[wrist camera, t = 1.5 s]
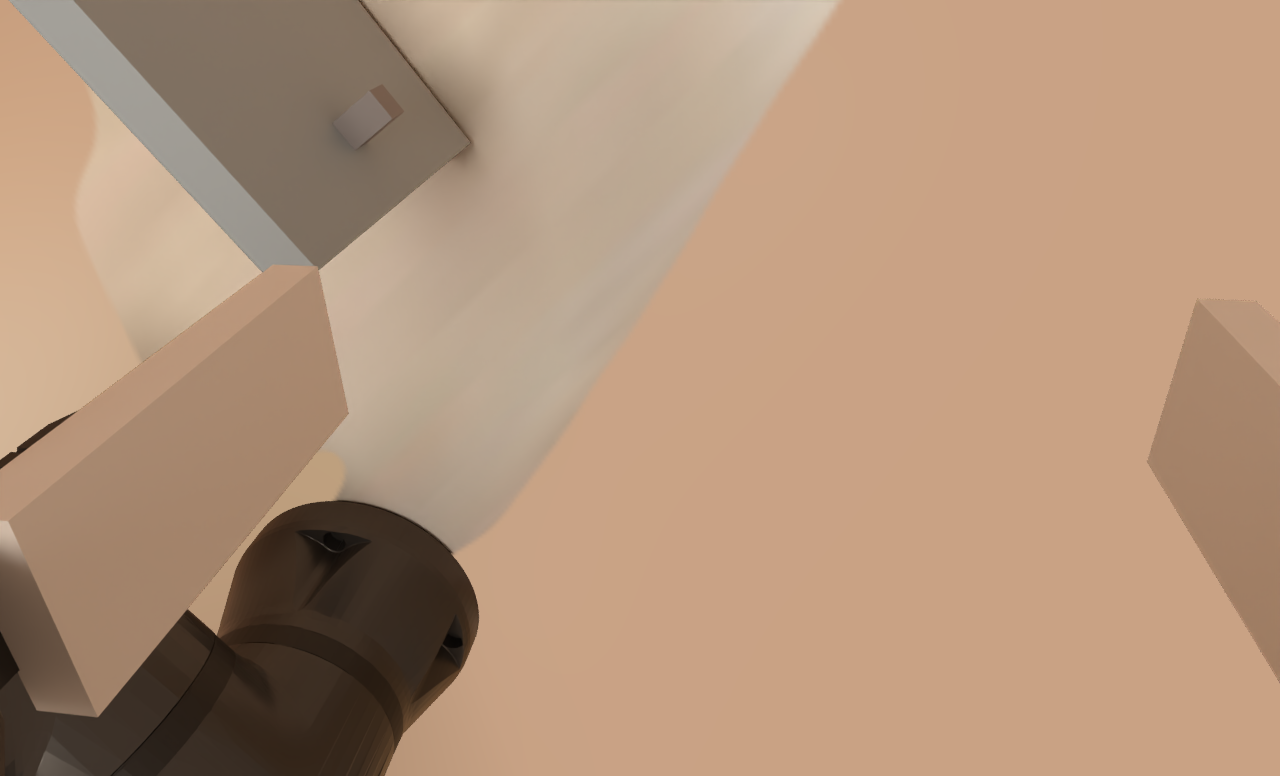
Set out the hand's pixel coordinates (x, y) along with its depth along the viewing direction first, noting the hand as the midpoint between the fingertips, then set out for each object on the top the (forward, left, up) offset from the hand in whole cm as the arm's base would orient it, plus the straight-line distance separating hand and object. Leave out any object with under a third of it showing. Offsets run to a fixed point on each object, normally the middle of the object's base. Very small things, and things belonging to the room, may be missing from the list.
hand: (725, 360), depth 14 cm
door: (-11, +16, -28) cm, 34 cm away
